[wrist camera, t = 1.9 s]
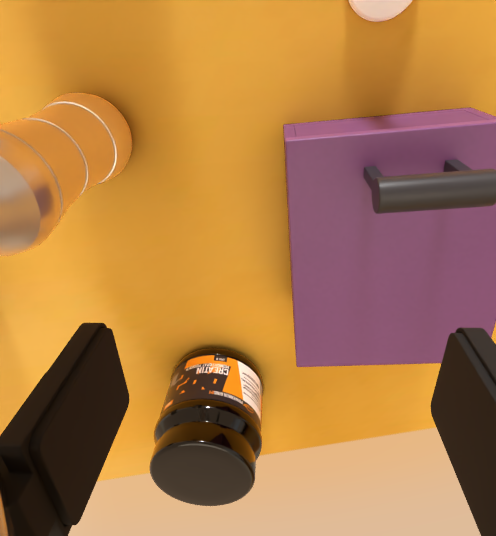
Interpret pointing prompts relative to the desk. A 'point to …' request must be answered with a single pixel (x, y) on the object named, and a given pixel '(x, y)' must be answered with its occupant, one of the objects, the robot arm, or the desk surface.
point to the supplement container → (209, 429)
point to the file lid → (391, 241)
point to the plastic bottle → (56, 164)
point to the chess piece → (379, 8)
